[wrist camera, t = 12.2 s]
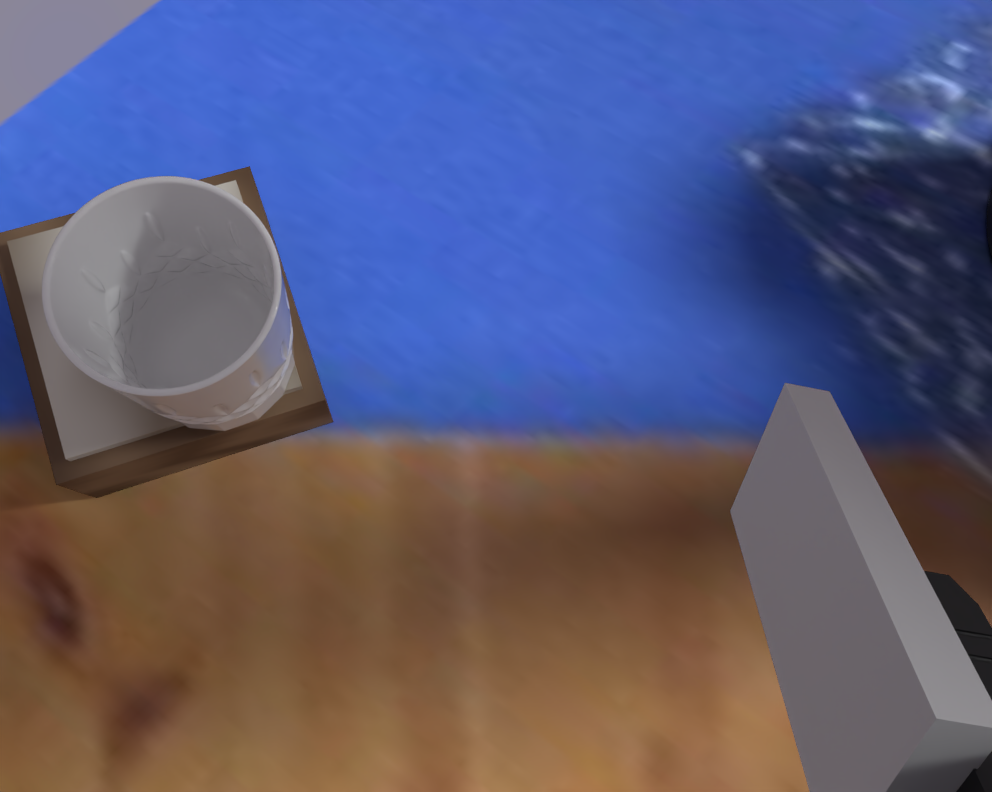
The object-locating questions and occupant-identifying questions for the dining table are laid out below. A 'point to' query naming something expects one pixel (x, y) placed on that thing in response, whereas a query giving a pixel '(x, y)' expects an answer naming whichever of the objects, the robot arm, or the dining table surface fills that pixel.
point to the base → (114, 418)
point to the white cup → (173, 301)
